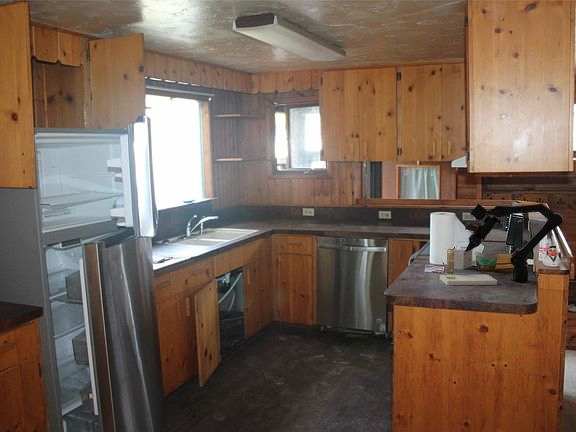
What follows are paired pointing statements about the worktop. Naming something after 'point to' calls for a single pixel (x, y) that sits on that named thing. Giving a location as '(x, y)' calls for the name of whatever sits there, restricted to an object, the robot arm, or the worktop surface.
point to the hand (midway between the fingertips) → (467, 249)
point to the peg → (450, 262)
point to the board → (468, 280)
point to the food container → (486, 261)
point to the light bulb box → (462, 258)
